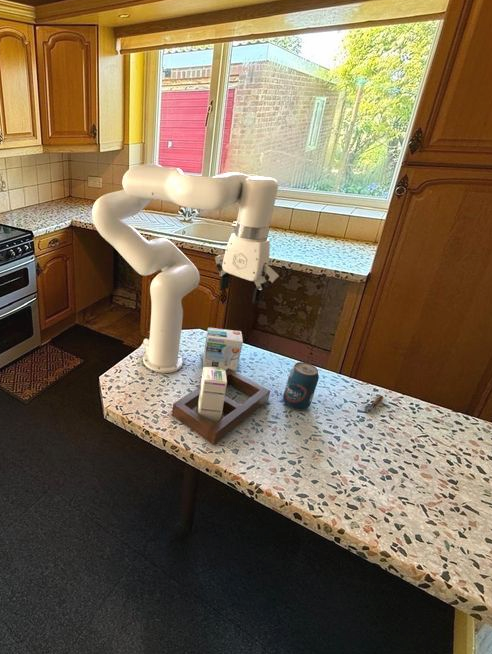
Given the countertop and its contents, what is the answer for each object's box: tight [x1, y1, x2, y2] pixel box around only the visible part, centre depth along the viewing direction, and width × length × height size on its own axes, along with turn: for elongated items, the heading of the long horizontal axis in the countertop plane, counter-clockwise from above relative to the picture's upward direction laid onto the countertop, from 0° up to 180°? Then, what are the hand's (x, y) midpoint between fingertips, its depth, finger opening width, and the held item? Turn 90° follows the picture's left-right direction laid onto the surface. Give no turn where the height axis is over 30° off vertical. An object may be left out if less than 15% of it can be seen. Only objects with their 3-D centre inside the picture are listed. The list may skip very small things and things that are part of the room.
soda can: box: [282, 361, 320, 411], centre depth 108 cm, size 7×7×12 cm
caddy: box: [171, 368, 271, 446], centre depth 108 cm, size 14×25×4 cm, turn 129°
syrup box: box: [196, 366, 228, 425], centre depth 103 cm, size 6×6×14 cm
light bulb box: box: [202, 327, 244, 372], centre depth 126 cm, size 11×7×11 cm, turn 76°
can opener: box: [364, 395, 384, 412], centre depth 110 cm, size 9×2×1 cm, turn 123°
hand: (239, 295), depth 103 cm, fingers open, 9 cm apart
